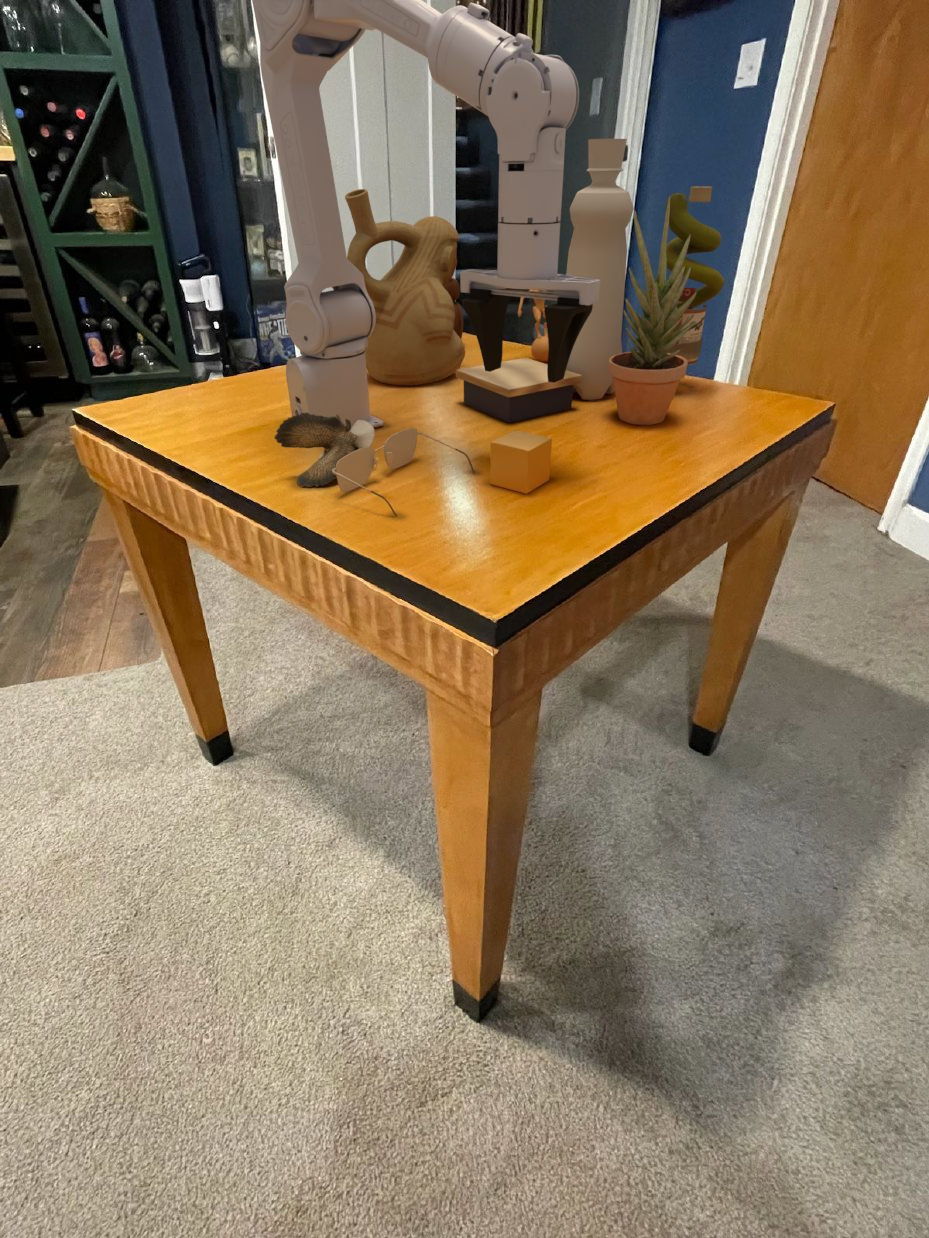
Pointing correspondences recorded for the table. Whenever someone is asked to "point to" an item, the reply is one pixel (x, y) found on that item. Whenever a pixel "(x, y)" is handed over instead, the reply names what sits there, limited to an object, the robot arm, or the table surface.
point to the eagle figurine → (324, 442)
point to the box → (517, 390)
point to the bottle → (600, 265)
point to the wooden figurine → (456, 305)
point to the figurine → (541, 343)
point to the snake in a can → (692, 267)
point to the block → (520, 461)
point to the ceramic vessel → (409, 297)
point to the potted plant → (652, 340)
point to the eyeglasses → (361, 461)
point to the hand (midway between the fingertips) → (523, 374)
